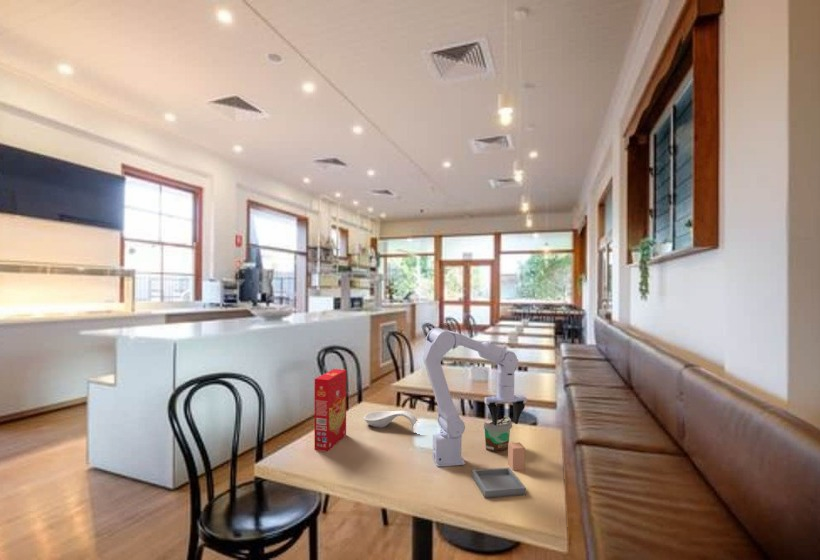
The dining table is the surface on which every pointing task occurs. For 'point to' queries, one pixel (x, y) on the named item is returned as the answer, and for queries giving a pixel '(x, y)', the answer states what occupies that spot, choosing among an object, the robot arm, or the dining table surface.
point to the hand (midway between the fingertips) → (505, 423)
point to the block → (516, 456)
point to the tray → (498, 482)
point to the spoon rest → (387, 417)
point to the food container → (498, 435)
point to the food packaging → (330, 409)
